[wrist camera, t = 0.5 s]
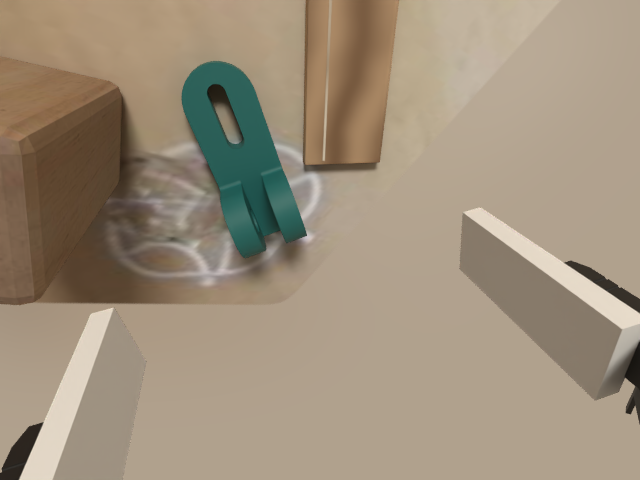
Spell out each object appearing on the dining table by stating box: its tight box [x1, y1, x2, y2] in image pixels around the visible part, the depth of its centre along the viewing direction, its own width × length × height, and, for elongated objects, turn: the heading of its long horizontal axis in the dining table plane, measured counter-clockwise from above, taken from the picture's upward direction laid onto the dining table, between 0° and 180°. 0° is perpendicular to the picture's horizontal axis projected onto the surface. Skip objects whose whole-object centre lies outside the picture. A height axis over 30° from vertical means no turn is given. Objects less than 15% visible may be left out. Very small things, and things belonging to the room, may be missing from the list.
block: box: [0, 57, 122, 305], centre depth 25 cm, size 10×10×20 cm
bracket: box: [182, 61, 307, 258], centre depth 36 cm, size 18×7×8 cm, turn 16°
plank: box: [303, 0, 399, 165], centre depth 36 cm, size 8×20×1 cm, turn 178°
